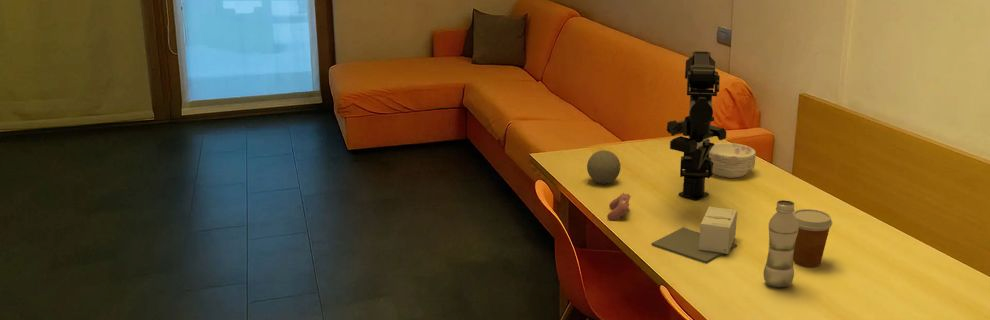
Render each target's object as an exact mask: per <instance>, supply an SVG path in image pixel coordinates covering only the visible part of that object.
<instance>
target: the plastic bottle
mask: <svg viewBox="0 0 990 320" xmlns="http://www.w3.org/2000/svg"><path fill="white" fill-rule="evenodd" d="M775 211H776V212H775V213H774V214H773V216H772V217H770V220H769V221H768V238H769V239H768V253H767V258H766V262H765V265H764V269H763V280H764V282H765V283H766V284H767V285H769V286H771V287H774V288H787V287H789V286H790V285H791V284H792V283H793V281H794V277H795V270H794V269H795V268H794V261H793V253H794V247H795V241H796V237H797V234H798V230H799V223H798V221H797V219H796V217H795V216H794V214H793V212H794V211H795V202H793V201H791V200H785V199H780V200H778V201H777V202H776V207H775Z"/></svg>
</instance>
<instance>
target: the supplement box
mask: <svg viewBox="0 0 990 320" xmlns="http://www.w3.org/2000/svg"><path fill="white" fill-rule="evenodd" d="M706 210H707V211H705V214H704V216H703V219H702V220H701V222H700V227H699V228H700V229H699V233H700V238H699V250H703V251H711V252H718V253H724V254H726V255H729V254H730V251H731V250H730V248H731V245H732V243H734V240H735V236H736V230H737V221H738V209H730V208H723V207H715V206H708V208H707V209H706Z"/></svg>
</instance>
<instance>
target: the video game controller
mask: <svg viewBox="0 0 990 320" xmlns="http://www.w3.org/2000/svg"><path fill="white" fill-rule="evenodd" d="M630 199H631V195H630V194H629V193H624V192H623V193H621V194H620V195H619V196H617V197H616V198H615V199H613V200H612V201H610V203H609V205H608V206H609V208H610V210H611V211H609V213H608V214H607V216H606V218H607V219H608V220H609V221H613V220H614V221H615V220H617V219H619V218H622V217H623V216H624V215H625V214H626V212H627V213H628V212H630Z"/></svg>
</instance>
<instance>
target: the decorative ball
mask: <svg viewBox="0 0 990 320" xmlns="http://www.w3.org/2000/svg"><path fill="white" fill-rule="evenodd" d="M586 170H587V174H588V176H589V177H590V178H591V179H592V180H593V181H594V182H596V183H598V184H604V185H605V184H610V183H612V182H614V181H615V180H617V178H618V177H619V175H620V172H621V162H620V159H619V158H618V156H617V155H616V154H615V153H613V151H610V150H605V149H603V150H598V151H596V152H594V153H593V154H592V155H590V157H589V158H588V161H587V165H586Z"/></svg>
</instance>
